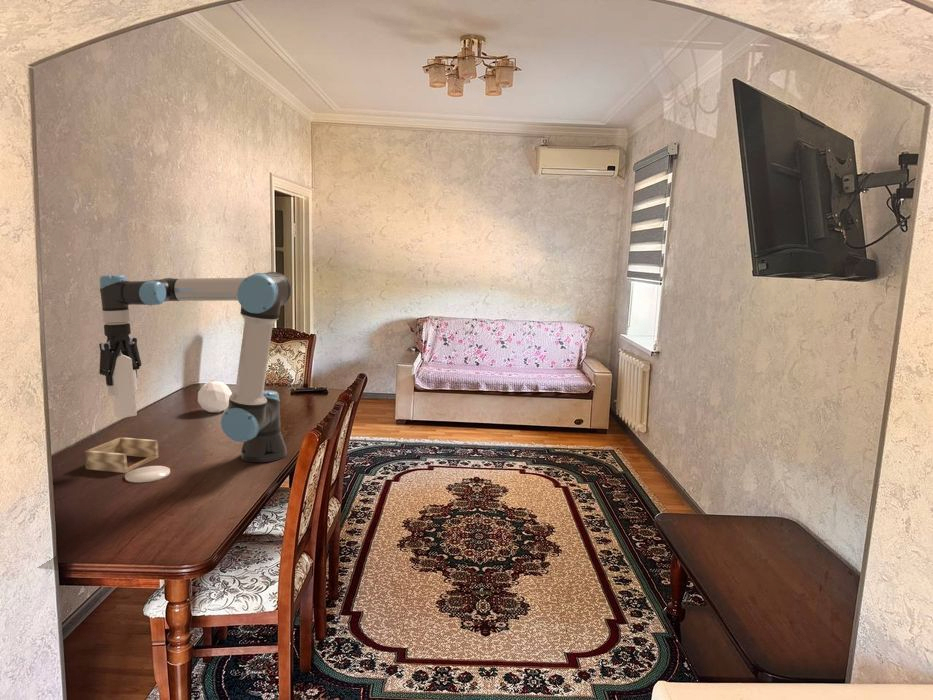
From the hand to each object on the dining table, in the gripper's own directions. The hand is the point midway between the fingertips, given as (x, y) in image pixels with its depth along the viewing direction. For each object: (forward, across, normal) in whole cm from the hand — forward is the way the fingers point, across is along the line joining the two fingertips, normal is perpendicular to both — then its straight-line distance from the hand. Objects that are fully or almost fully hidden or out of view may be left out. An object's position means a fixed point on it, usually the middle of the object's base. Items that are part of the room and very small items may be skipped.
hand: (123, 391), depth 214 cm
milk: (+8, 0, 0) cm, 8 cm away
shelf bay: (+25, -1, -4) cm, 25 cm away
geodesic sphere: (+25, -67, -14) cm, 73 cm away
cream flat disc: (+25, +7, +12) cm, 29 cm away
